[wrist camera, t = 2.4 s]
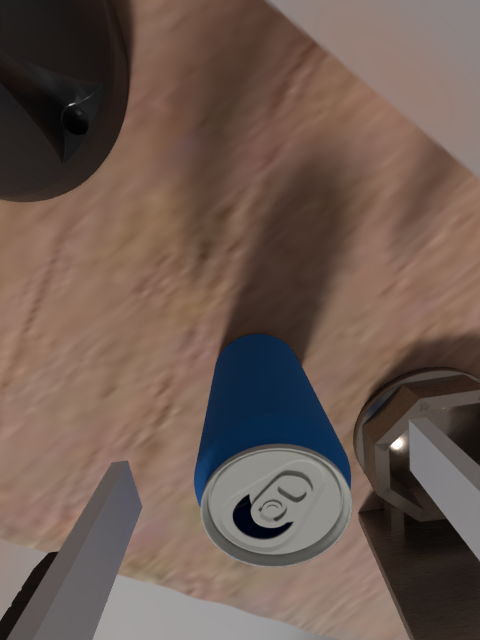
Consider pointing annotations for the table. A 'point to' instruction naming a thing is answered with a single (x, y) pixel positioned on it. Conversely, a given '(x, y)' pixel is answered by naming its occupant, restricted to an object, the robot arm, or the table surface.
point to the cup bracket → (421, 503)
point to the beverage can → (269, 459)
